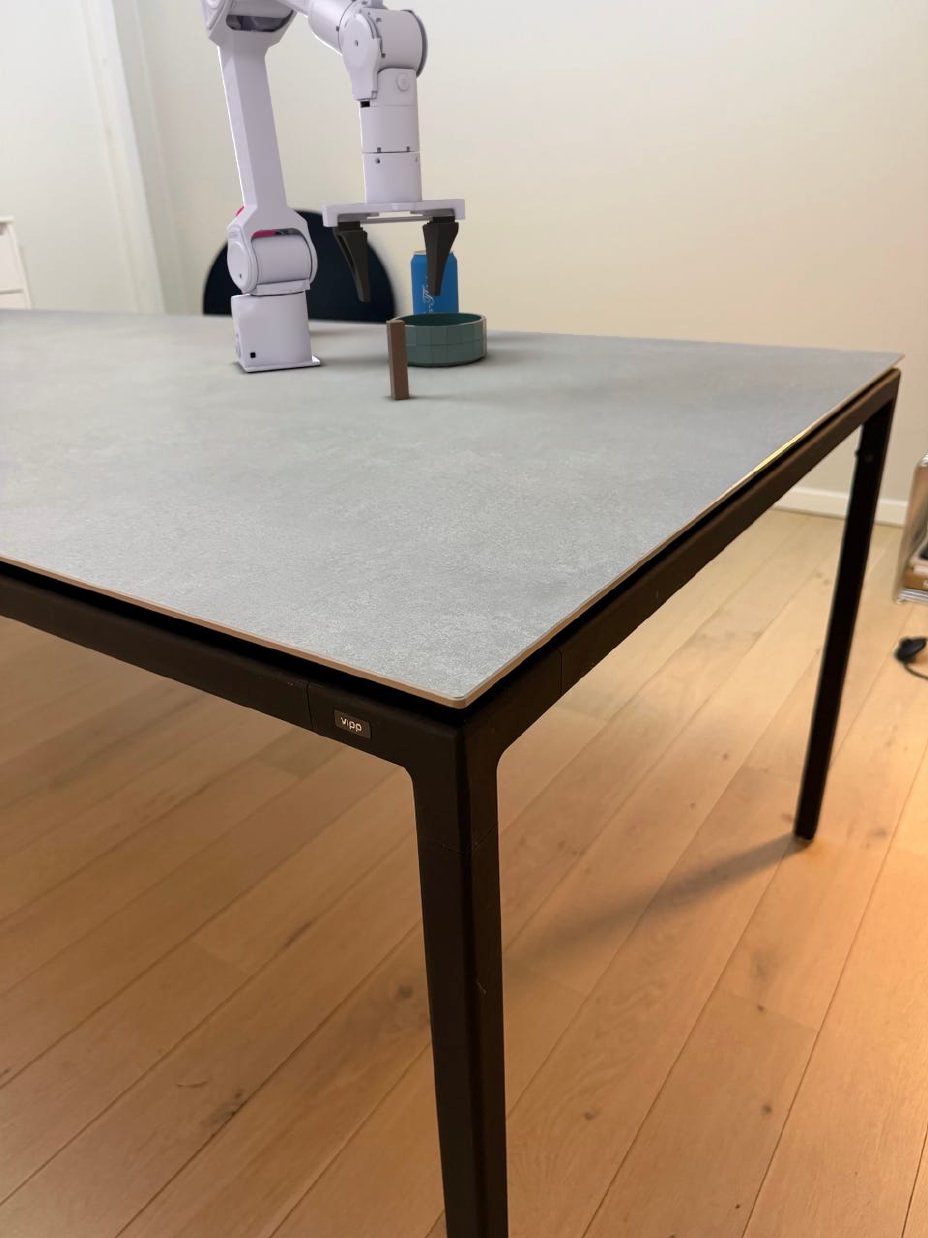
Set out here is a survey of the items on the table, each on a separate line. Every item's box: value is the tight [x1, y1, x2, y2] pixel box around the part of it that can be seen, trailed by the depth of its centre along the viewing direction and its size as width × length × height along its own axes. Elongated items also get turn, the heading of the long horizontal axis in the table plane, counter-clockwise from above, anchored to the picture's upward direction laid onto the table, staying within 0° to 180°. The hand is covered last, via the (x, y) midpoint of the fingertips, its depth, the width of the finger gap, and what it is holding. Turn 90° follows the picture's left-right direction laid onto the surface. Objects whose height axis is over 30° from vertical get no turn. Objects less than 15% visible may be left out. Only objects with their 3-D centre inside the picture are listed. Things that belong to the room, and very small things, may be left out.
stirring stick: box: [385, 319, 410, 401], centre depth 98 cm, size 2×2×8 cm
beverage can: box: [410, 249, 460, 314], centre depth 129 cm, size 6×6×12 cm
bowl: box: [391, 311, 488, 368], centre depth 118 cm, size 12×12×5 cm
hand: (400, 297), depth 97 cm, fingers open, 7 cm apart
